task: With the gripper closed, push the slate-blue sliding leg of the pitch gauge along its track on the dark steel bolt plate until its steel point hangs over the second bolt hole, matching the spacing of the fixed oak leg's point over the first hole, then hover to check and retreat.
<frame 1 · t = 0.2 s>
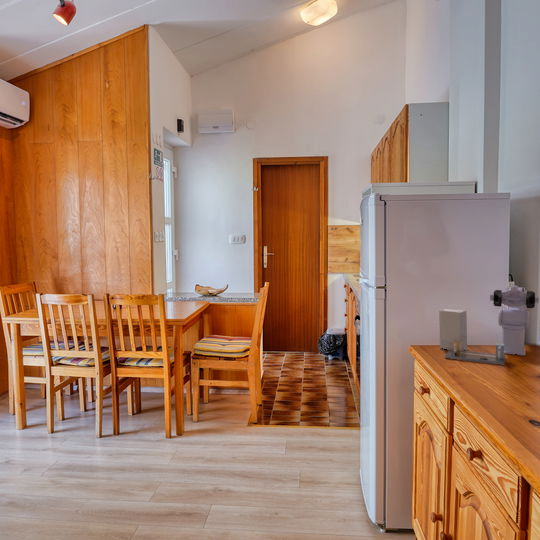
hand: (513, 300, 148), 21 cm above the table, tool horizontal, fingers open, 7 cm apart
skincare box: (452, 350, 171), on the table
bolt plate: (475, 358, 159), on the table
sliding leg: (499, 351, 154), point 3 cm above the table, slide at 0.0 cm
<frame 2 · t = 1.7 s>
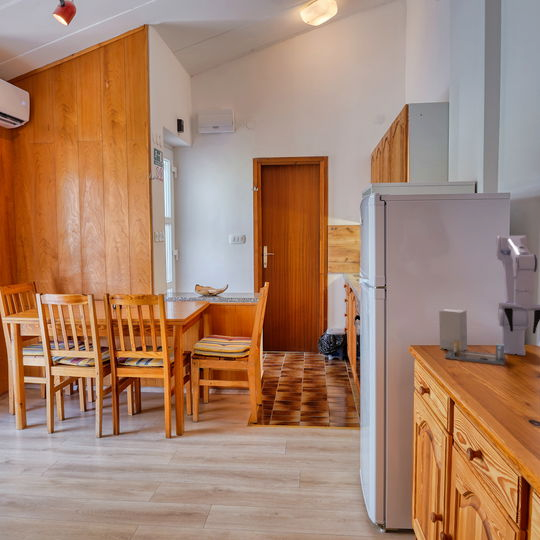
hand: (522, 332, 152), 10 cm above the table, tool pointing down, fingers open, 6 cm apart
nothing on the table moved.
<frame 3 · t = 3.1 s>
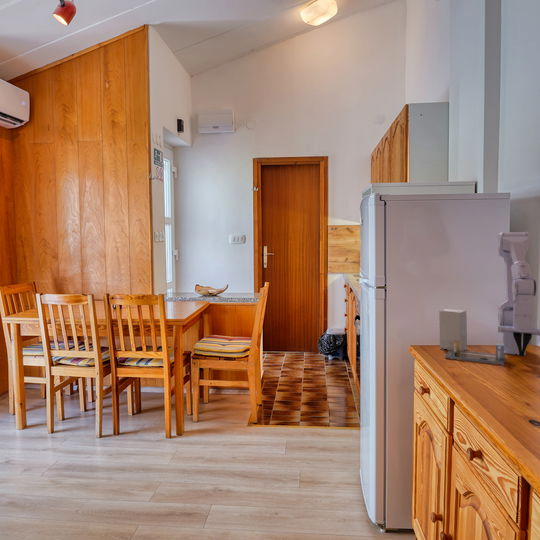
hand: (521, 355, 152), 2 cm above the table, tool pointing down, fingers closed
nothing on the table moved.
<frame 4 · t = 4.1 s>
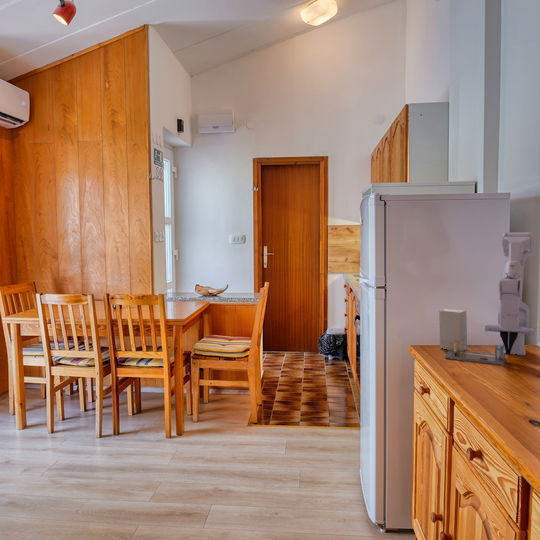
hand: (508, 354, 154), 2 cm above the table, tool pointing down, fingers closed
sliding leg: (499, 351, 154), point 3 cm above the table, slide at 0.2 cm, touching gripper
everything else where it was.
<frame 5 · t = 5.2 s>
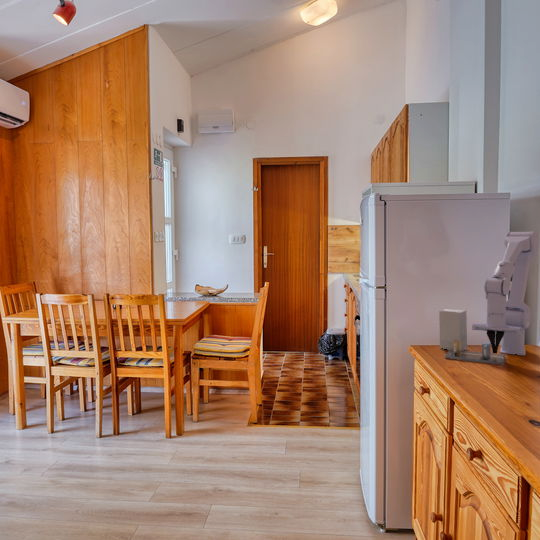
hand: (494, 352, 156), 2 cm above the table, tool pointing down, fingers closed
sliding leg: (485, 350, 156), point 3 cm above the table, slide at 4.2 cm, touching gripper
everything else where it was.
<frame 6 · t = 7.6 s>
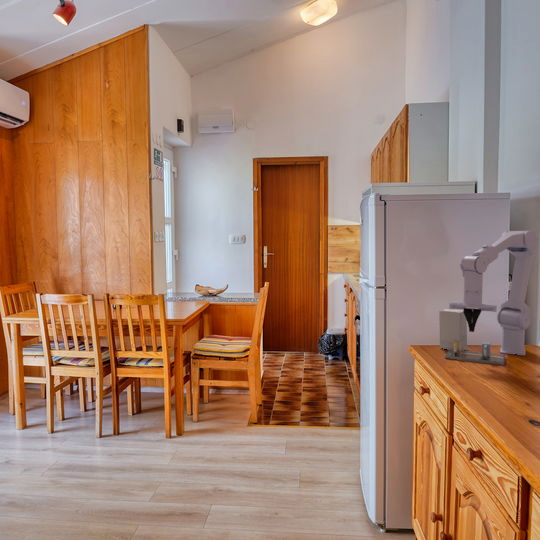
hand: (471, 331, 155), 10 cm above the table, tool pointing down, fingers closed
sliding leg: (485, 350, 156), point 3 cm above the table, slide at 4.2 cm
everything else where it was.
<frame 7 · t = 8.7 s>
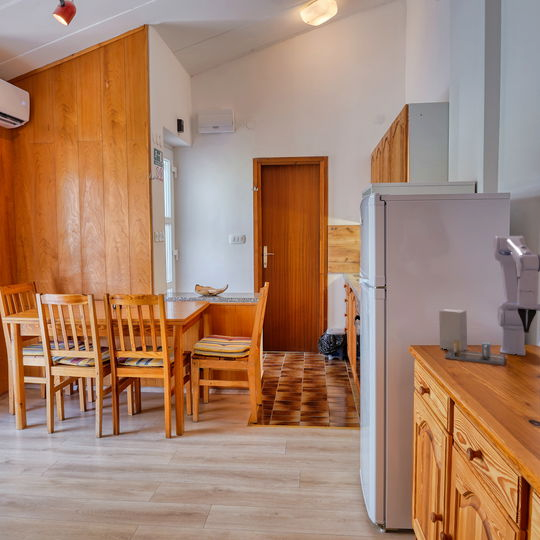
hand: (526, 332, 151), 10 cm above the table, tool pointing down, fingers closed
nothing on the table moved.
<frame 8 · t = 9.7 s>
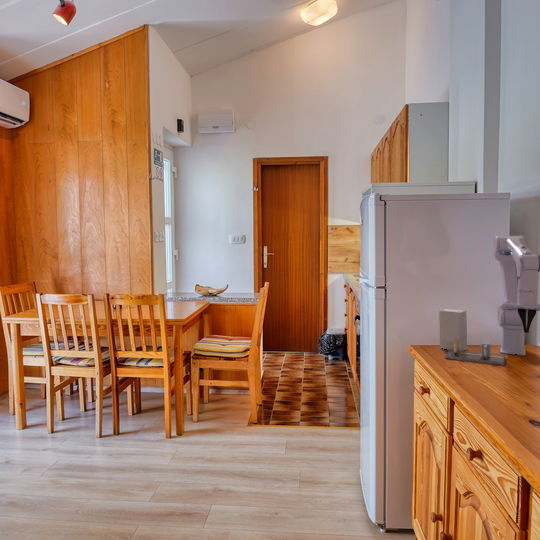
hand: (526, 332, 151), 10 cm above the table, tool pointing down, fingers closed
nothing on the table moved.
at the end: sliding leg slide at 4.2 cm; sliding leg 0.3 cm from the target spot, resting on bolt plate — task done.
